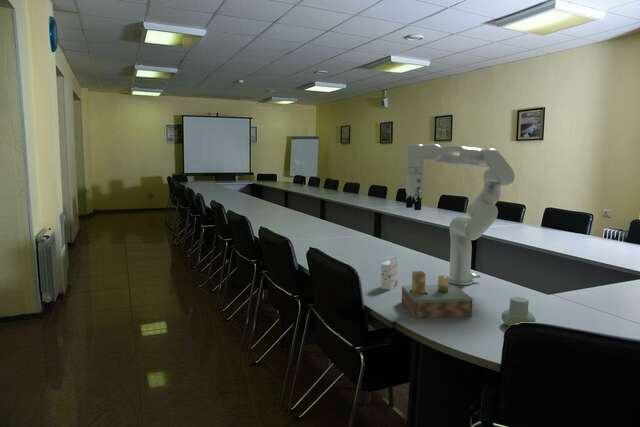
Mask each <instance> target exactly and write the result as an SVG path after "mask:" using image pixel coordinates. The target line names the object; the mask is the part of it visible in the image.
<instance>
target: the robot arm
mask: <svg viewBox="0 0 640 427" xmlns="http://www.w3.org/2000/svg"><path fill="white" fill-rule="evenodd" d="M503 156H504V155H502V154H501V152H500V151H498V150H497V149H495V148H481V147H472V146H471V147H470V146H463V145H452V146H448V145H447V146H442V145H441V146H440V145H439V144H436V143H426V144H422V143H421V144H420V143H411V144H408V146H407V147H406V171H405V172H406V173H405V174H406V175H407V176H406V184H405V196H406V197H405V208H407V209H412V208H413V210H414V211H422V201H423V197H424V190H425V189H424V176H423V175H424V164H425V162H436V163H446V164H451V165H459V166H468V167H469V166H470V167H481V168H487V169H485V171H484V172H483V189H482V191H481V192H480V193H479V194H478V195H477V196H476V197H475V199H474V200H473V201H471V203H470V204H469V205H468V206H467V208H466V215H467V217H465V216H456V217H454V218H453V219H452V220H451V221H450V224H449V228H448V229H449V235H450V250H449V251H450V254H449V255H450V256H449V276H448V277H449V284H454V285H455V286H457V285H458V286H469V285H473V283H474V279H480V278H481V274H479V273H476V274H475V273H472V272H471V266H472V241H475V240H477V239H479V238H481V237H482V235H483V234H484V233H485V232H486V231H487V230H488V229H489V228H490V227H491V226H492V225H493V224H494V223H495V222H496V219H497V218H498V216H499V215H498V214H499V210H498V207H497V206H496V204H497V202H499V200H500V199H501V198H500V197H501V192H502V190H501V186H504V187H506V186H510V185H511V184H513V182H514V181H515V172H514V170H513V168H512V167H511V165H510V164H509V163H508V162H507V160H506V158H505V157H503ZM424 161H425V162H424ZM413 198H414V199H413Z"/></svg>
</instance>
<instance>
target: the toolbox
mask: <svg viewBox="0 0 640 427" xmlns="http://www.w3.org/2000/svg"><path fill="white" fill-rule="evenodd" d="M425 295H426V294H425ZM401 303H402V304H403V305H404V307H405V308H406V310H408V311H409V313H410V315H411V316H413V318H414V319H429V318H430V319H431V318H432V319H433V318H454V317H455V318H459V317H461V318H462V317H472V316H473V300H472V301H454V302H424V303H415V302H414V301H413V300H412V298H411V297H410V296H409V295H408V294H407V293H406V292H405V291H404V290H403V289H402V288H401Z"/></svg>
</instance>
